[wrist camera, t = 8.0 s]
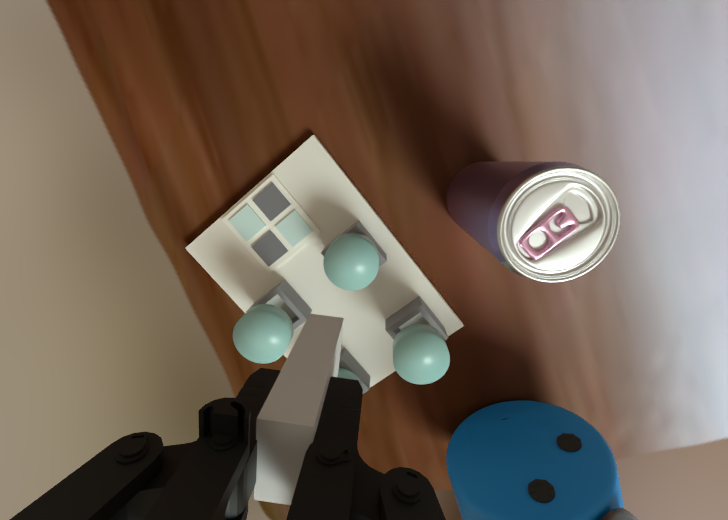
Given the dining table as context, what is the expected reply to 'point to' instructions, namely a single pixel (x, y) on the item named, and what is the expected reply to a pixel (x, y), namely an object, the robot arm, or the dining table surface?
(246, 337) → the button
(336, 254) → the button
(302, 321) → the board
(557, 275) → the beverage can
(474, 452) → the alarm clock
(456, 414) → the dining table surface
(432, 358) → the button
